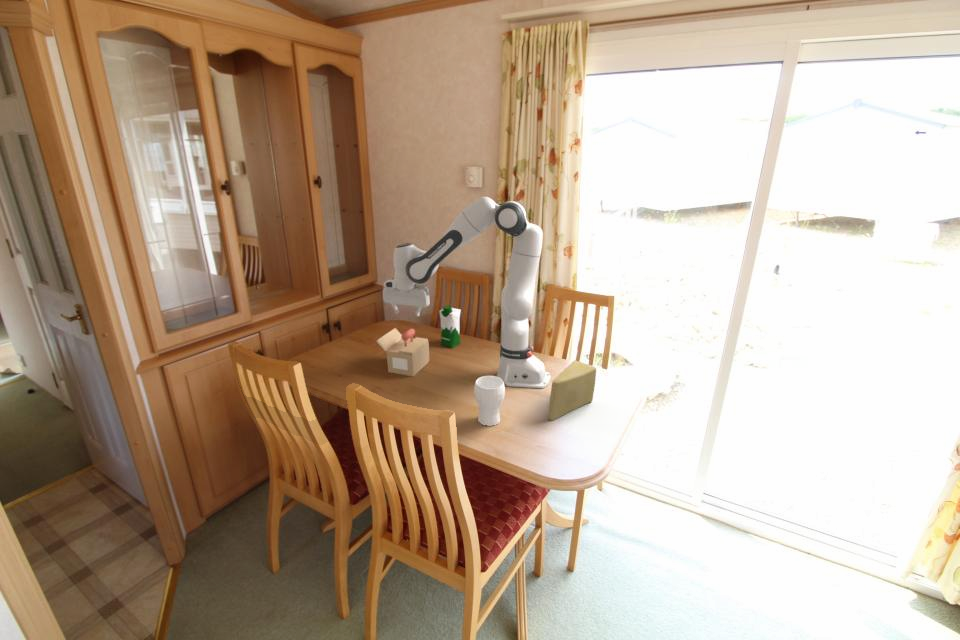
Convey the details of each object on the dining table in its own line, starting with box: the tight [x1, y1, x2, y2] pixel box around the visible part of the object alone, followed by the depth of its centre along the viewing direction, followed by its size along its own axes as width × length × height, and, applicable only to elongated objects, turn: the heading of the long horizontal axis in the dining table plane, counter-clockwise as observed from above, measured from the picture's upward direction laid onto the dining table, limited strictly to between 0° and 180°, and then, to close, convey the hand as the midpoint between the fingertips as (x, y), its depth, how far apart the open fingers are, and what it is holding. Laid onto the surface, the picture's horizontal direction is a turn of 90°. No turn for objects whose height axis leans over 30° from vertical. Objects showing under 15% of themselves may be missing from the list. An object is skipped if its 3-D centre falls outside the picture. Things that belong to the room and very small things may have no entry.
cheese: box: [548, 360, 597, 421], centre depth 157 cm, size 22×10×15 cm, turn 137°
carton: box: [386, 337, 430, 377], centre depth 190 cm, size 12×16×10 cm
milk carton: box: [438, 305, 462, 349], centre depth 212 cm, size 9×9×20 cm
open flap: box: [375, 327, 403, 353], centre depth 190 cm, size 6×16×1 cm
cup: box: [473, 375, 506, 427], centre depth 150 cm, size 11×11×15 cm
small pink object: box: [399, 328, 429, 354], centre depth 186 cm, size 7×16×7 cm, turn 162°
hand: (407, 314), depth 183 cm, fingers open, 8 cm apart
